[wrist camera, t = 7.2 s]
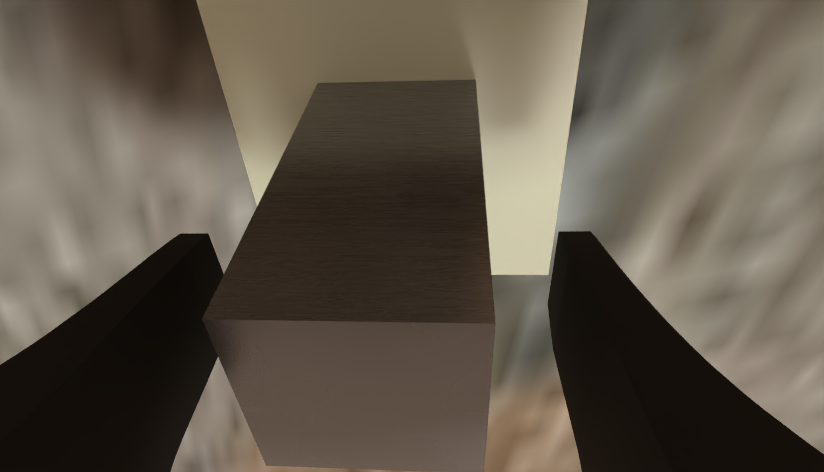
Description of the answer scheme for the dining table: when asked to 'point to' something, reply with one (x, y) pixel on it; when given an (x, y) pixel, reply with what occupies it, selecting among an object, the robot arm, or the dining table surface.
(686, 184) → the dining table surface
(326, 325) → the square peg
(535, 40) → the pad
